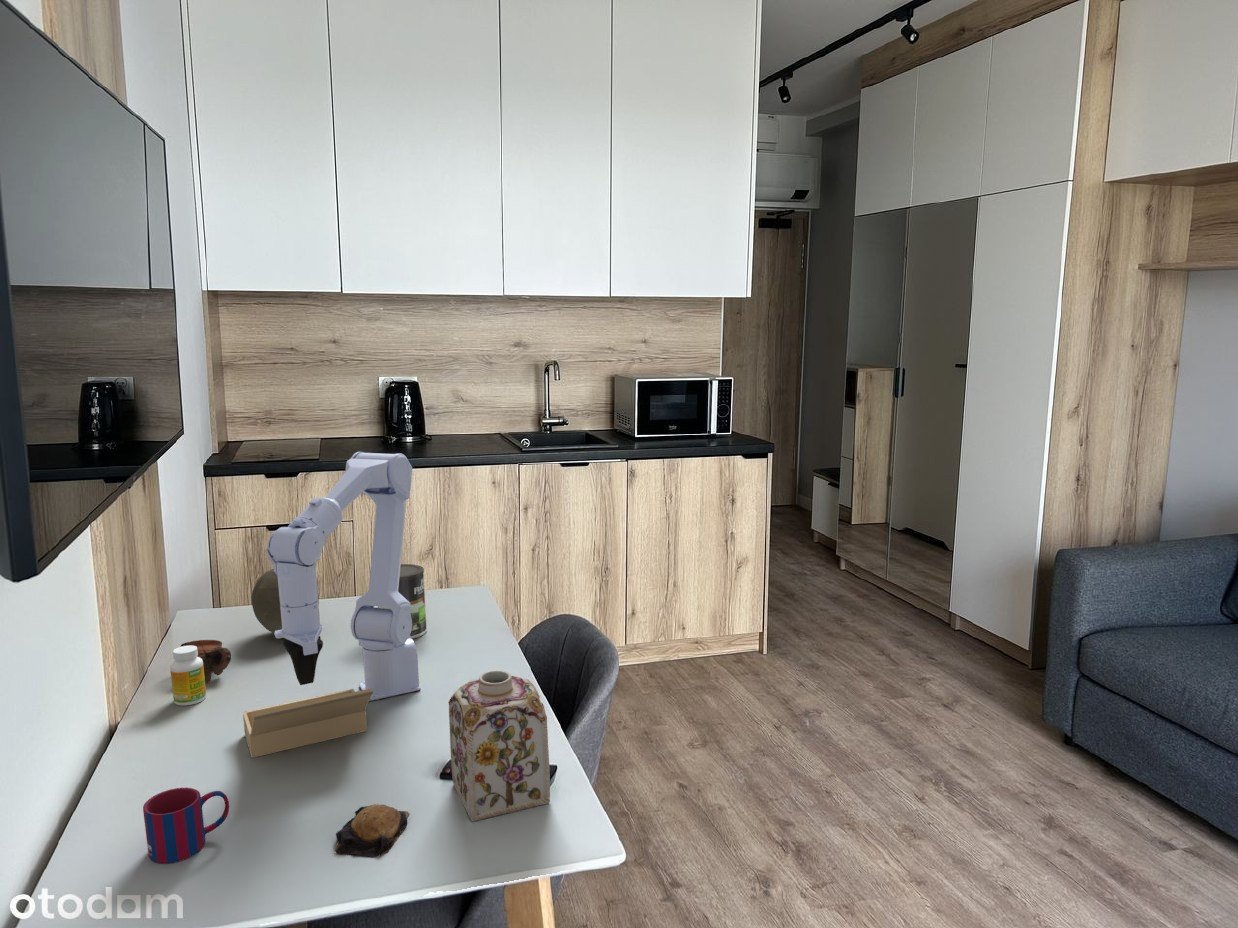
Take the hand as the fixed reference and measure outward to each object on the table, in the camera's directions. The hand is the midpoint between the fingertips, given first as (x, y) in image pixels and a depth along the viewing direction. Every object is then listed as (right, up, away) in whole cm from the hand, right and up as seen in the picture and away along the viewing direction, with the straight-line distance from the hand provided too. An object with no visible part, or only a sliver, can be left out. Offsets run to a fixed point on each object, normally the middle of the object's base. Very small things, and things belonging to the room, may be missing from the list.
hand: (306, 682), depth 144 cm
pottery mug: (-30, -6, +30) cm, 43 cm away
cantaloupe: (-22, -2, +51) cm, 56 cm away
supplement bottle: (-28, -8, +19) cm, 34 cm away
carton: (-2, -10, +5) cm, 11 cm away
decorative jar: (+33, -13, -15) cm, 39 cm away
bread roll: (+17, -15, -24) cm, 33 cm away
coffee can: (+3, -2, +51) cm, 51 cm away
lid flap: (+2, -4, -3) cm, 5 cm away
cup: (-6, -15, -26) cm, 31 cm away
